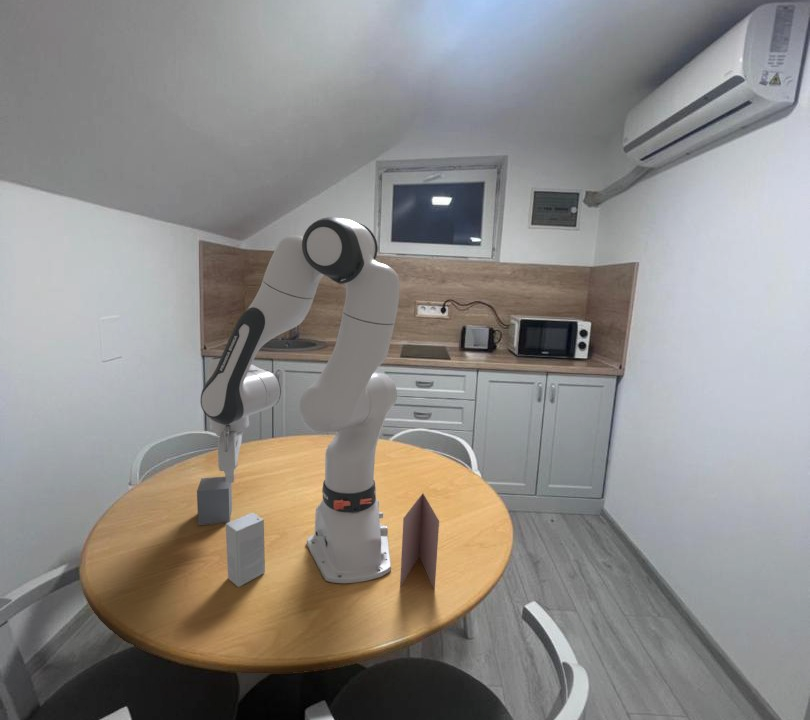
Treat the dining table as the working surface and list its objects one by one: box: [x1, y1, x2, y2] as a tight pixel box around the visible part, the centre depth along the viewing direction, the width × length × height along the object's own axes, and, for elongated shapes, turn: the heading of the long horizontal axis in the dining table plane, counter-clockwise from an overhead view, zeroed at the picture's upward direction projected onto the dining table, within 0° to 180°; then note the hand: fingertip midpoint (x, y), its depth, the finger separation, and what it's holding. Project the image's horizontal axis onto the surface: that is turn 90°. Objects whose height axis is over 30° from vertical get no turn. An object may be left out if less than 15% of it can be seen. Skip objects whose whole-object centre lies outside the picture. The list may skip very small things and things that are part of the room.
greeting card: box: [399, 492, 440, 591], centre depth 89 cm, size 11×7×15 cm, turn 159°
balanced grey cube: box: [196, 475, 233, 526], centre depth 107 cm, size 7×7×9 cm
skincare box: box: [225, 512, 266, 588], centre depth 86 cm, size 6×4×12 cm
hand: (232, 474), depth 107 cm, fingers open, 8 cm apart
